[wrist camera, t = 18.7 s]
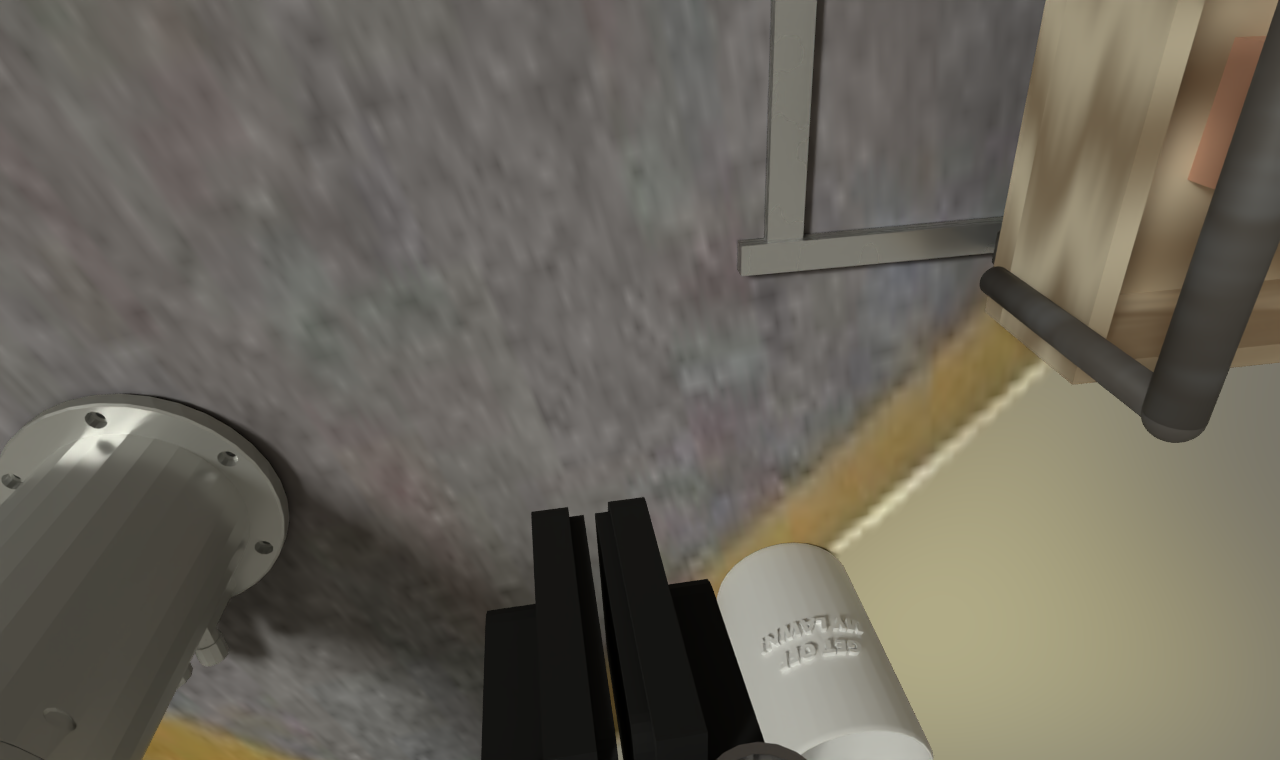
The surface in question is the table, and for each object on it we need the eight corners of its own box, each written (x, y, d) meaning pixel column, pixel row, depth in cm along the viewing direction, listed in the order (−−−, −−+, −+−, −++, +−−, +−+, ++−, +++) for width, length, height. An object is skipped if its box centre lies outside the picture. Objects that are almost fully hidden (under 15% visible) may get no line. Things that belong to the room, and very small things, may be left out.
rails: (1270, 220, 36) (1284, 225, 35) (737, 269, 34) (741, 276, 34) (1398, -113, 29) (1418, -115, 29) (741, -73, 28) (746, -74, 27)
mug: (634, 582, 43) (662, 781, 33) (834, 521, 43) (926, 705, 32) (673, 670, 48) (708, 871, 37) (855, 616, 47) (943, 805, 37)
